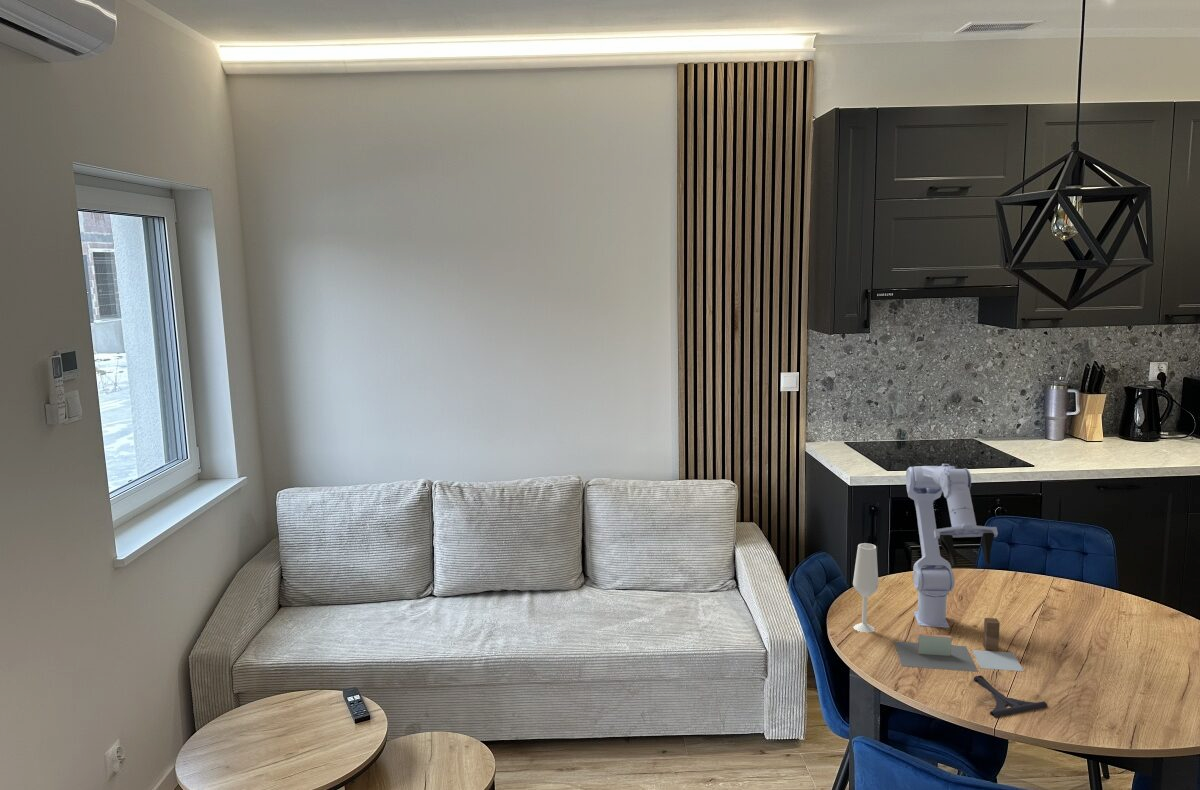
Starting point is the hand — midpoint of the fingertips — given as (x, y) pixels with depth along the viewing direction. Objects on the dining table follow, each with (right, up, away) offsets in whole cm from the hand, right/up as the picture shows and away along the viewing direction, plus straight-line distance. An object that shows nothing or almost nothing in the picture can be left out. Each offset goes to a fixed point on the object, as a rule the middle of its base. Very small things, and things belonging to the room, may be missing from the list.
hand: (971, 565), depth 209 cm
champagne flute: (-18, -23, +28) cm, 40 cm away
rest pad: (+10, -26, +8) cm, 29 cm away
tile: (-5, -25, +12) cm, 28 cm away
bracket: (+3, -30, -8) cm, 31 cm away
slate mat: (-5, -26, +11) cm, 28 cm away
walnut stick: (+11, -25, +15) cm, 31 cm away
